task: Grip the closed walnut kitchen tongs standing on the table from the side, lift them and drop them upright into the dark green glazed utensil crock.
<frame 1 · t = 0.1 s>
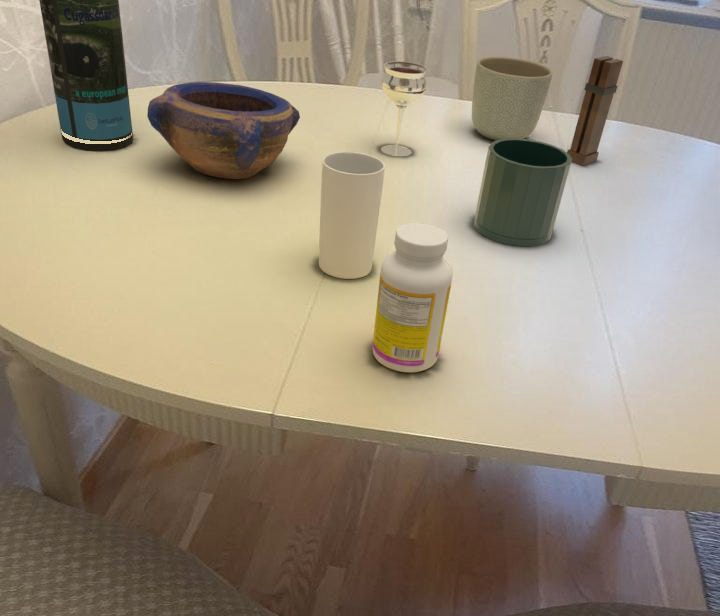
advertising column: (98, 140, 112), on the table
wineglass: (396, 152, 120), on the table
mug: (350, 263, 90), on the table
crock: (512, 229, 101), on the table
planter: (500, 137, 131), on the table
bowl: (229, 169, 108), on the table
tongs: (580, 160, 125), on the table
supplement bottle: (403, 358, 75), on the table
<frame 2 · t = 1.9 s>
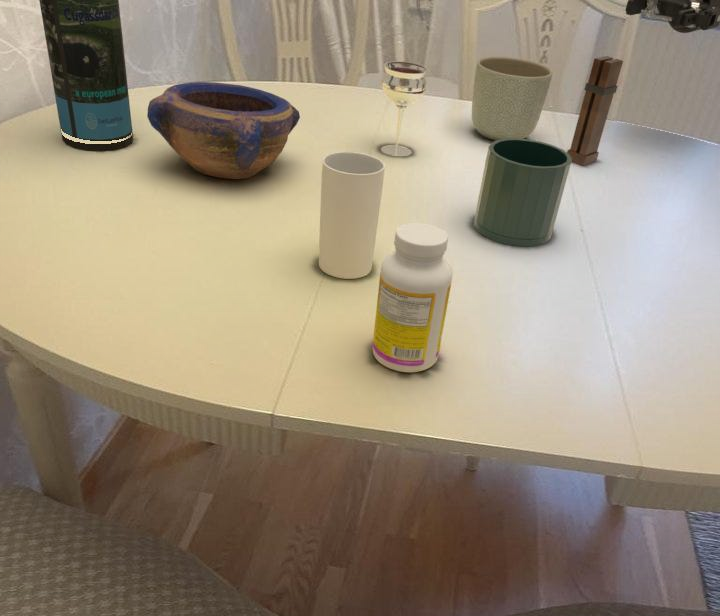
hand: (653, 13, 117), 20 cm above the table, tool horizontal, fingers open, 8 cm apart
nothing on the table moved.
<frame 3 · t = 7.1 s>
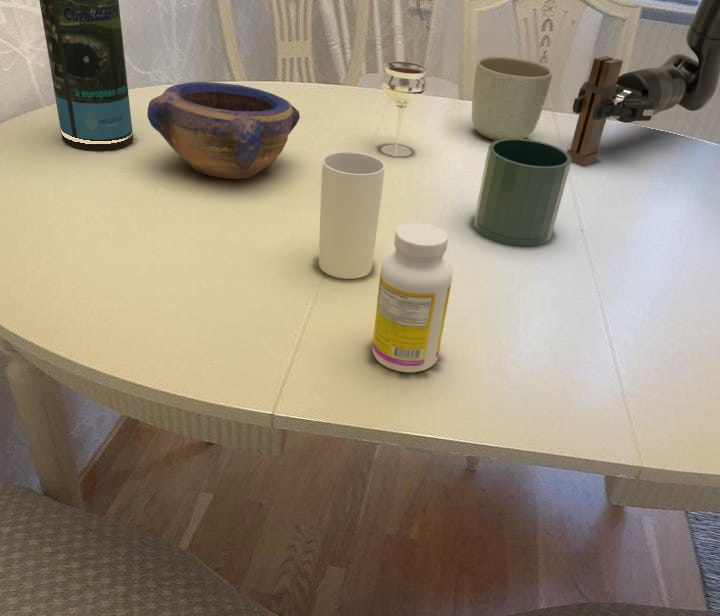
hand: (586, 109, 118), 8 cm above the table, tool horizontal, fingers closed on tongs, 3 cm apart
tongs: (580, 160, 125), on the table, touching gripper
everything else where it was.
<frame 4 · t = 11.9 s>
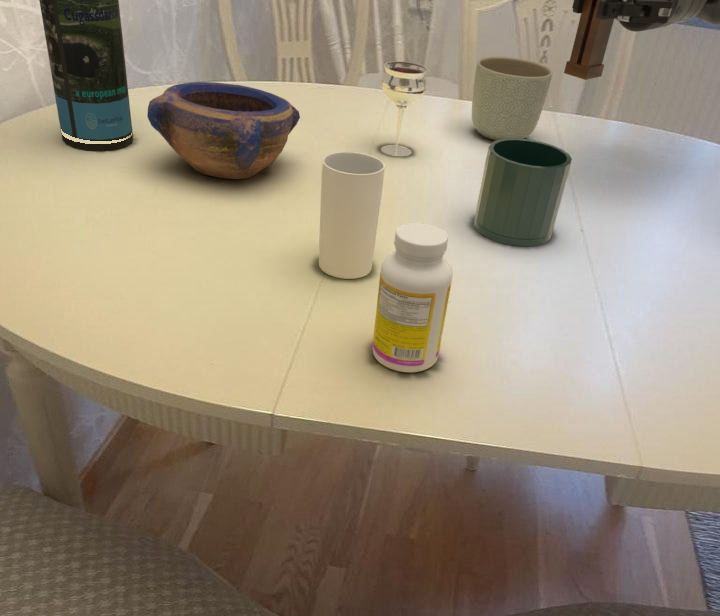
hand: (588, 6, 96), 24 cm above the table, tool horizontal, fingers closed on tongs, 3 cm apart
tongs: (582, 74, 104), point 16 cm above the table, touching gripper
everything else where it was.
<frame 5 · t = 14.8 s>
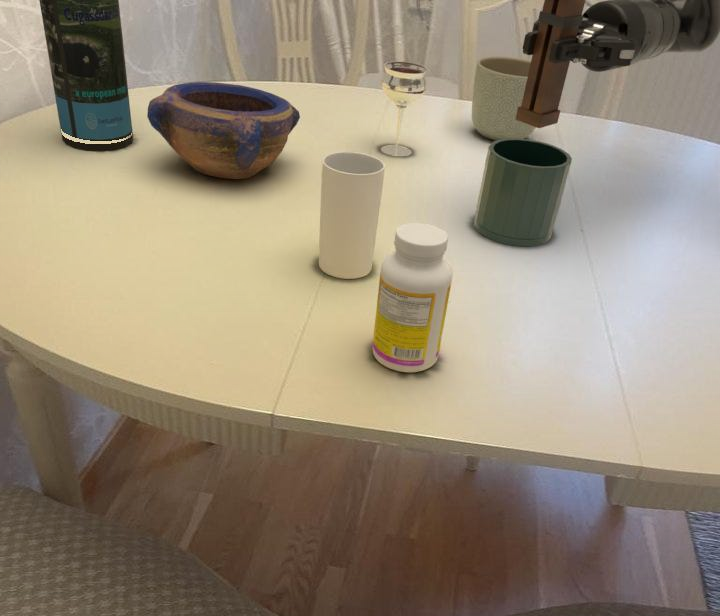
hand: (540, 48, 85), 22 cm above the table, tool horizontal, fingers closed on tongs, 3 cm apart
tongs: (536, 121, 92), point 14 cm above the table, touching gripper
everything else where it was.
when the fingers open (16 cm above the table, at t = 16.9 s): tongs drops 6 cm, resting on crock.
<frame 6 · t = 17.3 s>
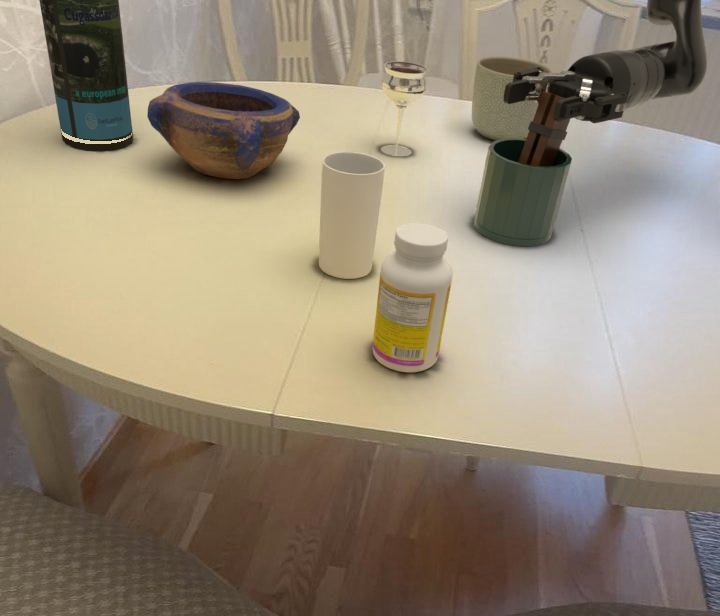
hand: (531, 102, 89), 16 cm above the table, tool horizontal, fingers open, 6 cm apart
tongs: (515, 218, 100), point 1 cm above the table, tilted 14°, touching crock
everything else where it was.
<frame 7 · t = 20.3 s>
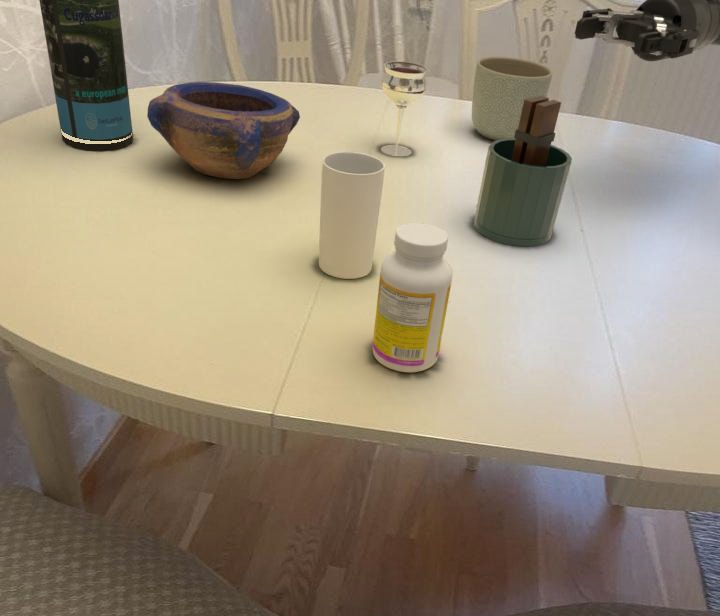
hand: (608, 37, 93), 22 cm above the table, tool horizontal, fingers open, 8 cm apart
tongs: (514, 221, 101), point 1 cm above the table, touching crock
everything else where it was.
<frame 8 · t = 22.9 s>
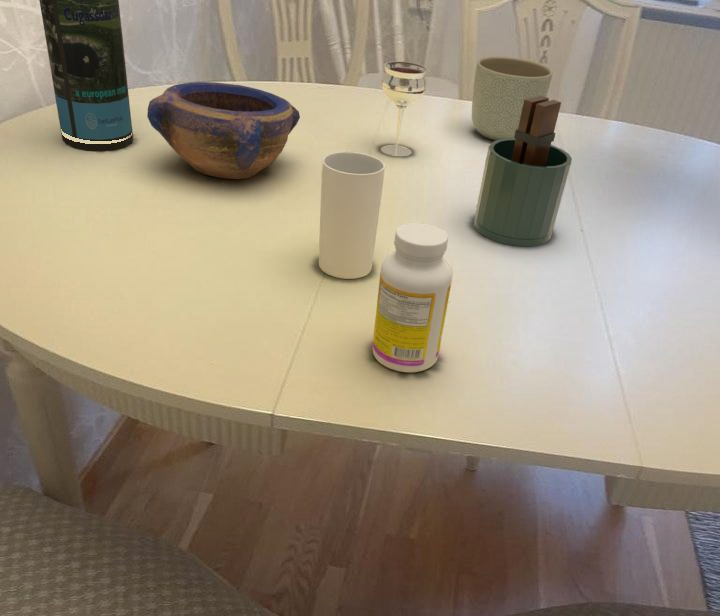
nothing on the table moved.
at the end: tongs inside the target area in the crock (0.1 cm from its centre), point 1.0 cm above the crock's base; the gripper is holding nothing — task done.
